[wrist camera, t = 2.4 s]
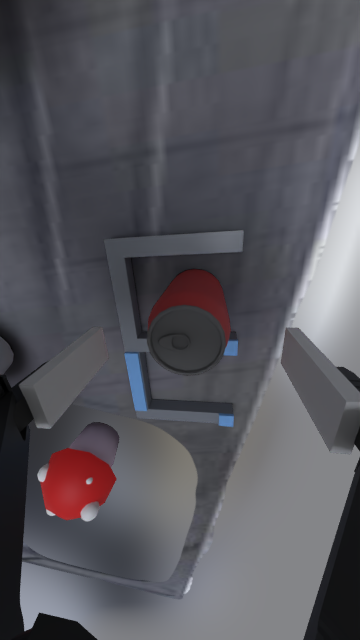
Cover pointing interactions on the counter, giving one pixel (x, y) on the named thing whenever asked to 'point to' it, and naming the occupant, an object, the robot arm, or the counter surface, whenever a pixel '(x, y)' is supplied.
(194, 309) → the beer can
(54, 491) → the mushroom
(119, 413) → the counter surface
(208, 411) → the duct comb
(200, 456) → the counter surface
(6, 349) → the potted plant
